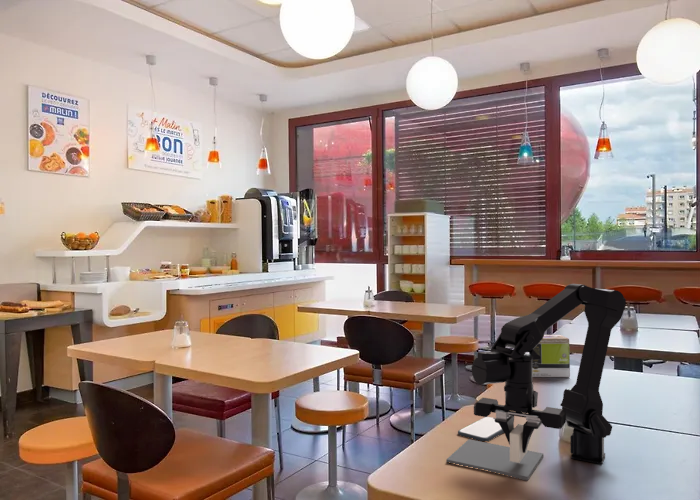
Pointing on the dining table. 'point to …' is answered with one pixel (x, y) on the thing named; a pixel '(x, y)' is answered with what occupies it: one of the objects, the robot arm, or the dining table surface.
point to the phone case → (482, 429)
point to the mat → (495, 459)
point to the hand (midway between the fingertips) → (518, 451)
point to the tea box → (552, 357)
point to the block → (516, 444)
